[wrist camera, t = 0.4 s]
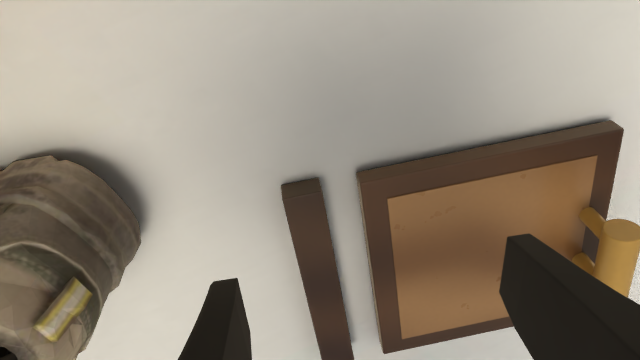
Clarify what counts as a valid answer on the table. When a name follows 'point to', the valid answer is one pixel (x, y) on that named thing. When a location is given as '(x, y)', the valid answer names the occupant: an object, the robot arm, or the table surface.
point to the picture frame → (487, 228)
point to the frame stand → (318, 267)
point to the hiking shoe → (58, 256)
